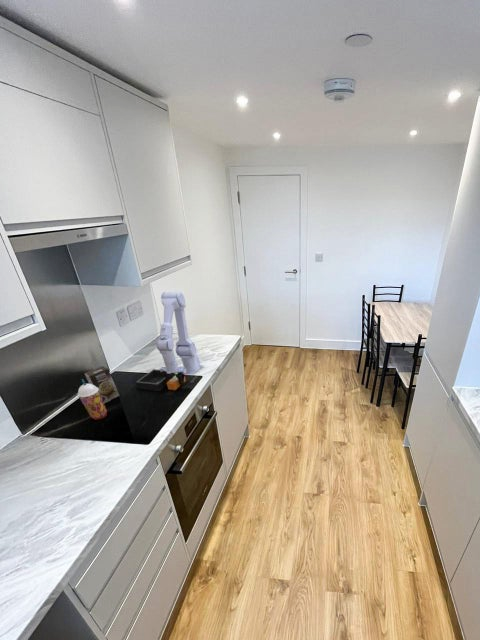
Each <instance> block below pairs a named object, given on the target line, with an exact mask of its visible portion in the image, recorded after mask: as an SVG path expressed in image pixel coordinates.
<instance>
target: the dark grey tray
mask: <svg viewBox="0 0 480 640" xmlns="http://www.w3.org/2000/svg"><path fill="white" fill-rule="evenodd" d="M162 374H163V372H161V371H160V369H155V368H154V369H152V370H150V371H149V372H147V373H146V374H144V375H143V376H142V377H140V378H139V379H137V381H135V384H136V386H137V389H140V390H148V391H158V392H160V391H162V390H163V389H164V388H166V387H167V382H168V380H167V379H166V378H165V377H164V376H163V375H162ZM175 375H176V373H172V377H174V376H175Z"/></svg>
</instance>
